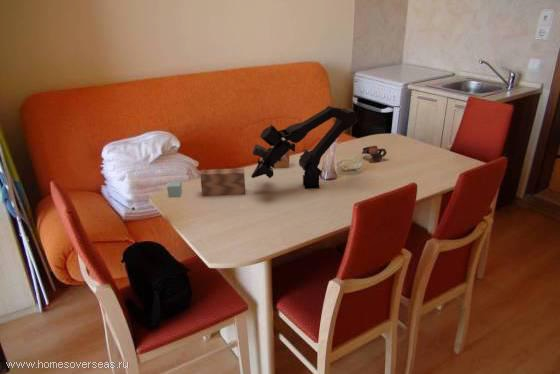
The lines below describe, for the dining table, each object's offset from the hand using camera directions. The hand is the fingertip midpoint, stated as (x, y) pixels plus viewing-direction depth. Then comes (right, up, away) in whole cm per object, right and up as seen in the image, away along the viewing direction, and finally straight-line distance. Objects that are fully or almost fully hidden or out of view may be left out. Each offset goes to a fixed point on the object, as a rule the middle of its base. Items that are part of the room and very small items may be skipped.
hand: (252, 177), depth 183 cm
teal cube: (-32, -7, +1) cm, 33 cm away
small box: (+12, +6, +29) cm, 32 cm away
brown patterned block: (-12, -7, +2) cm, 14 cm away
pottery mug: (+59, +9, +36) cm, 70 cm away
